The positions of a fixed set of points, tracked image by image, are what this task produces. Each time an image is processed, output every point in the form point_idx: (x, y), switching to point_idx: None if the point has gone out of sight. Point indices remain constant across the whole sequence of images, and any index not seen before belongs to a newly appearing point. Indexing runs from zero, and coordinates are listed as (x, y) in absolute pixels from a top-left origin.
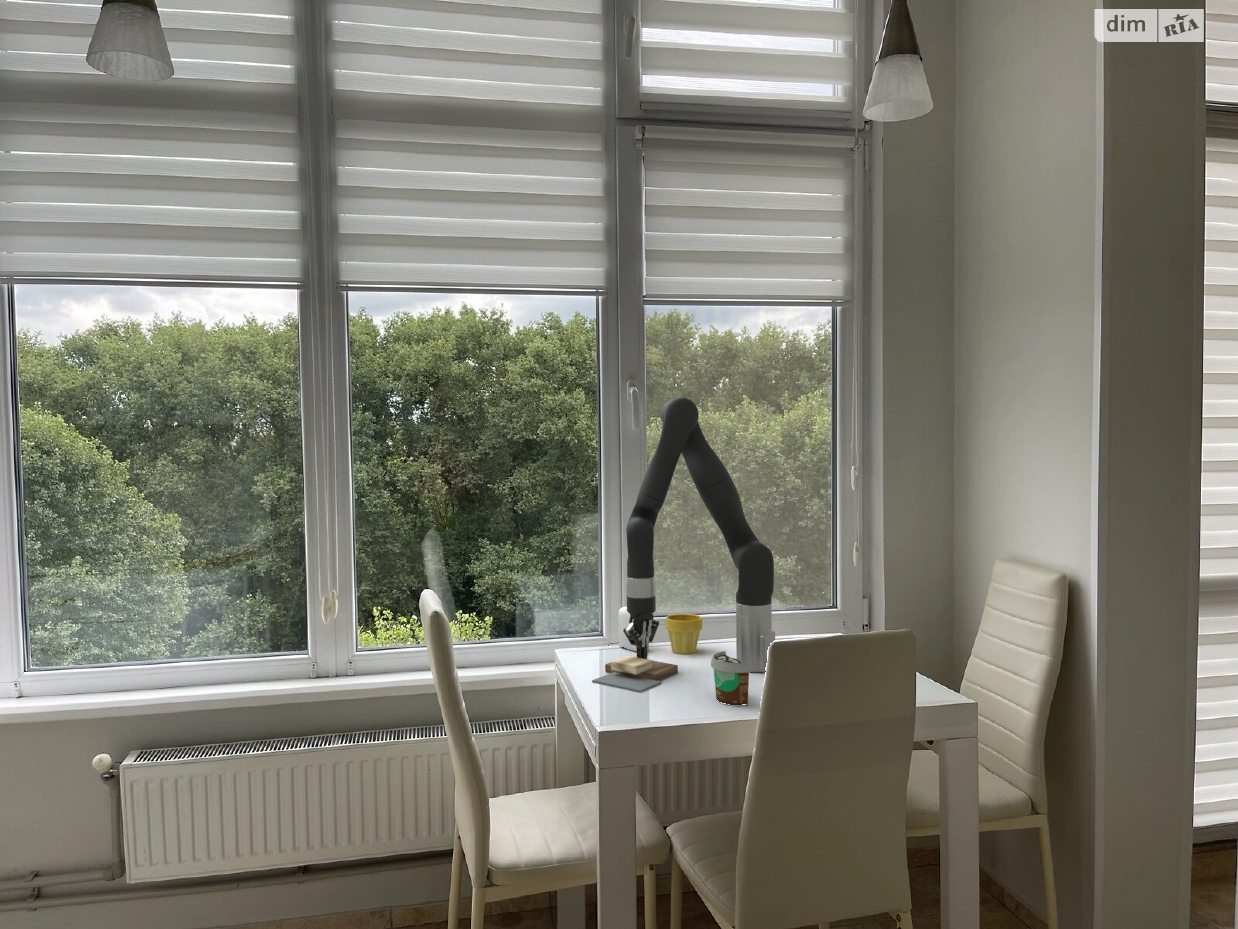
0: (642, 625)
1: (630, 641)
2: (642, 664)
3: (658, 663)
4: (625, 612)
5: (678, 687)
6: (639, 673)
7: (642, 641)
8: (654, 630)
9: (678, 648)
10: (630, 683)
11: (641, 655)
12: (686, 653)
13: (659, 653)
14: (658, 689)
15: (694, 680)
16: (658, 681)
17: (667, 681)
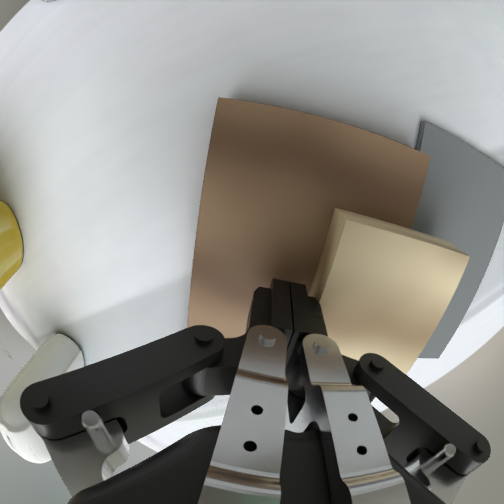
0: (398, 501)
1: (381, 415)
2: (432, 244)
3: (232, 214)
4: (42, 456)
5: (429, 48)
6: None
7: (342, 370)
8: (126, 381)
9: (11, 245)
10: (469, 239)
11: (316, 311)
12: (12, 214)
13: (49, 296)
14: (475, 120)
15: (311, 3)
16: (428, 135)
17: (381, 104)
